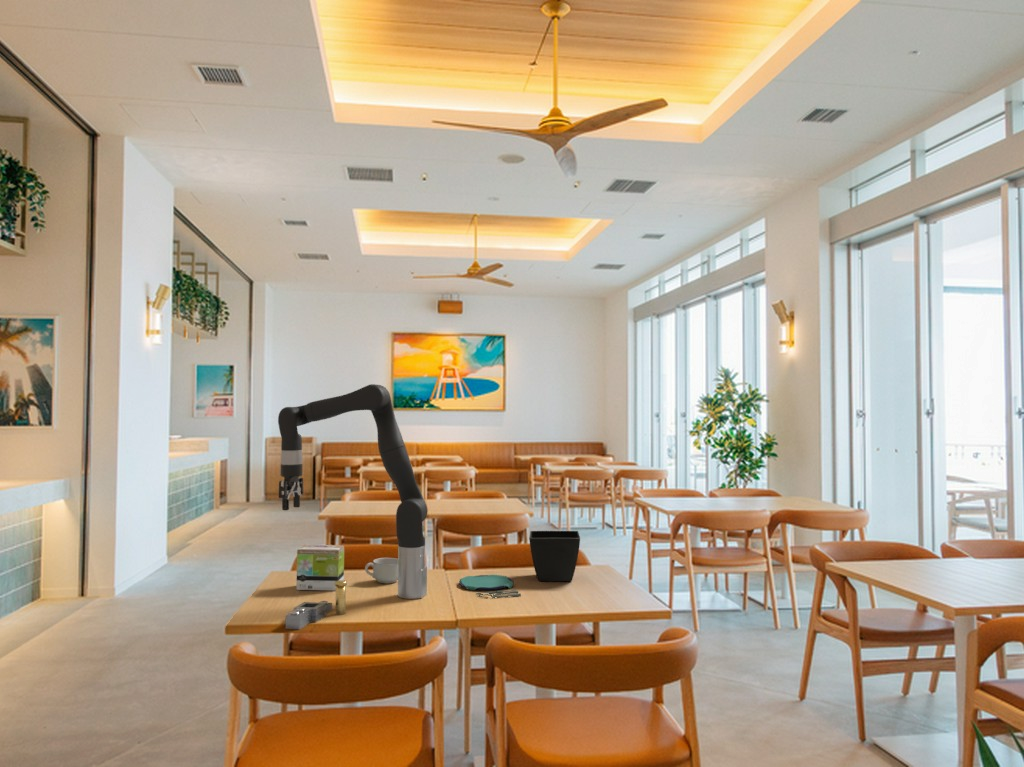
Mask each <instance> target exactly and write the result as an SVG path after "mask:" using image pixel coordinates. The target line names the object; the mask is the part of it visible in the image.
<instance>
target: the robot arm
mask: <svg viewBox="0 0 1024 767" xmlns="http://www.w3.org/2000/svg"><path fill="white" fill-rule="evenodd" d="M354 411H355V412H356V411H370V412H371V413H372V416H373V419H374V421H375V425H376V430H377V447H378V448H377V449H378V452H379V455H380V458H381V461H382V464H383V467H384V469H385V472H386V473H387V474H388V476H389V477H390V479H391V480H392V482H393V484H394V485H395V488H396V490H397V492H398V494H399V498H400V503H399V505H398V506H397V509H396V514H395V526H396V530H395V531H396V533H395V534H396V540H397V543H398V546H397V549H398V552H397V557H398V558H397V559H398V580H397V597H398V598H401V599H406V600H407V599H408V600H415V599H423V598H424V597H425V596H427V593H428V592H427V591H428V581H427V580H428V567H427V566H426V538H425V536H424V533H423V531H424V530H423V522H425V520H426V518H427V516H428V506H427V504H426V501H425V499H424V496H423V494H422V492H421V490H420V488H419V486H418V483H417V481H416V477H415V476H416V475H415V472H414V470H413V466H412V463H411V460H410V456H409V453H408V450H407V446H406V443H405V441H404V439H403V435H402V432H401V431H400V427H399V425H398V422H397V418H396V416H395V411H394V407H393V403H392V398H391V395H390V392H389V390H388V389H387V387H385V386H384V385H381V384H375V383H374V384H373V383H372V384H368V385H365V386H363V387H361V388H358V389H356V390H354V391H352V392H349V393H345V394H343V395H342V394H341V395H338V396H332V397H328V398H324V399H320V400H315V401H312V402H307V404H304V405H299V406H286V407H283V408H282V409H280V411H279V413H278V418H277V422H278V428H279V433H280V438H281V444H280V445H281V446H280V447H281V448H280V449H281V451H280V452H281V453H280V477H282V478H284V479H283V480H279V481H278V499H281V502H282V504H281V510H282V511H288V510H290V497H291V495H292V496H293V498H292V499H293V502H292V503H293V506H292V507H293V508H300V507H301V497H302V495H304V478H303V477H302V476H303V439H302V435H301V434H299V432H298V427H300V426H303V425H307V424H310V423H312V422H319V421H323V420H324V421H325V420H327V419H331V418H334V417H337V416H340V415H342V414H345V413H350V412H354Z"/></svg>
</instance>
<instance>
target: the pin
mask: <svg viewBox="0 0 1024 767" xmlns="http://www.w3.org/2000/svg"><path fill="white" fill-rule="evenodd" d="M347 584H348V581H347V580H339V581H335V586H336V591H335V615H336V616H343V615H346V586H348V585H347Z"/></svg>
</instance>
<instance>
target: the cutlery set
mask: <svg viewBox="0 0 1024 767" xmlns="http://www.w3.org/2000/svg"><path fill="white" fill-rule="evenodd" d="M459 585H460V586H462V587H463V588H465V589H466V590H469V591H475V590H482V591H483V592H476V593H475V594H476V595H482V596H484V595H483V594H480V593H489V594H493V596H492V595H489V596H491V597H492V598H494V599H496V598H495V597H505V598H509V597H508V596H516V597H519V596H520V597H522V595H521V593H519V590H516V589H515V590H499V589H504V588H507V587H508V589H509V588H510V589H512V587H513V585H514V580H513V579H512V578H510V577H508V576H506V575H502V574H500V575H499V574H480V575H467V576H465V577H461V578H460V579H459ZM497 589H498V590H497ZM484 590H488V591H484ZM489 590H495V591H489ZM501 592H502V593H501ZM494 594H495V596H494ZM501 594H502V595H501Z"/></svg>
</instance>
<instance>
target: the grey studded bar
mask: <svg viewBox="0 0 1024 767" xmlns="http://www.w3.org/2000/svg"><path fill="white" fill-rule="evenodd" d="M331 610H333V603H332V602H328V600H322V601H319V602H315V601H313V602H309V601H303V602H302V603H300V604H298V605H297V606H295V607H293V610H292V611H290V612H288V613H287V614H285V629H286V630H301V629H304V628H305V627H306V626H307V624H308V623H309V622H311V621H317V622H319V621H320V620H322V619H324V618H325V617H326V616H327V613H328V612H330V611H331ZM321 618H322V619H321ZM318 620H319V621H318ZM311 623H312V622H311ZM309 624H310V623H309ZM309 624H308V625H309Z"/></svg>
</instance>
